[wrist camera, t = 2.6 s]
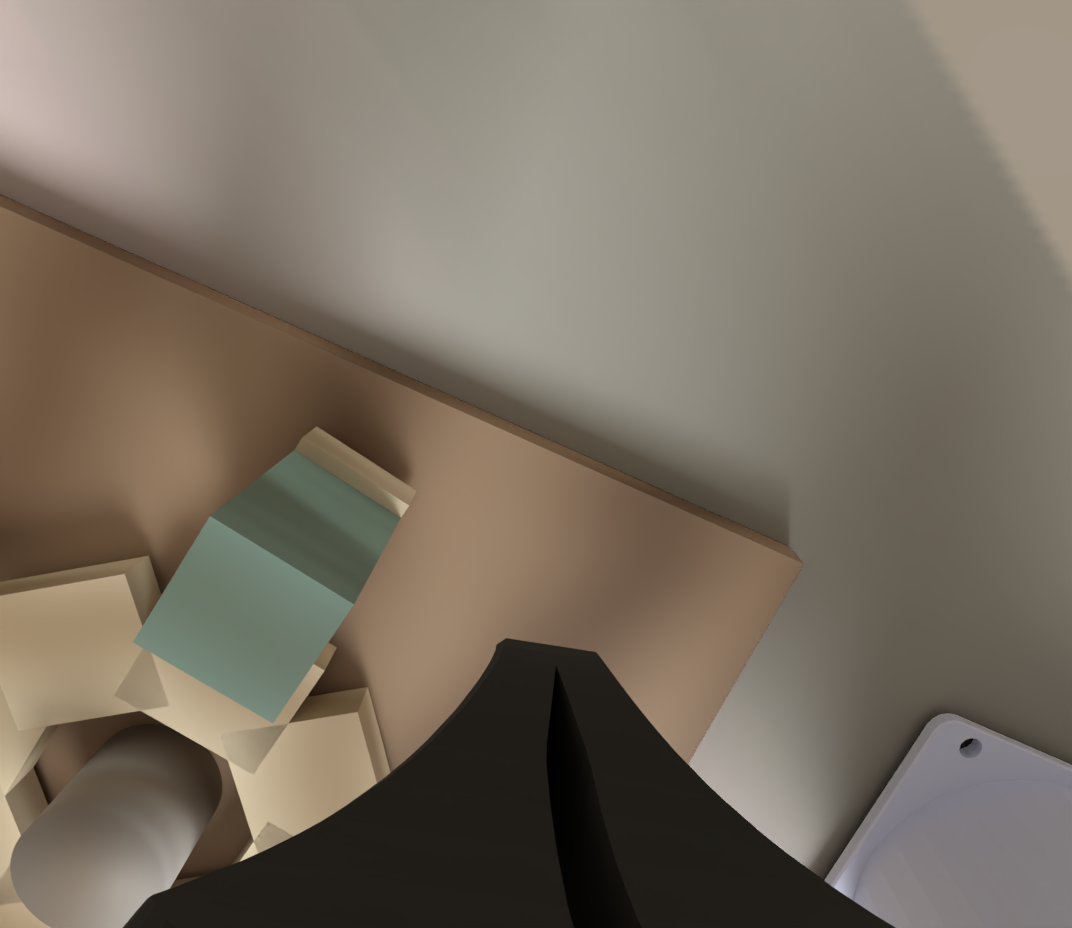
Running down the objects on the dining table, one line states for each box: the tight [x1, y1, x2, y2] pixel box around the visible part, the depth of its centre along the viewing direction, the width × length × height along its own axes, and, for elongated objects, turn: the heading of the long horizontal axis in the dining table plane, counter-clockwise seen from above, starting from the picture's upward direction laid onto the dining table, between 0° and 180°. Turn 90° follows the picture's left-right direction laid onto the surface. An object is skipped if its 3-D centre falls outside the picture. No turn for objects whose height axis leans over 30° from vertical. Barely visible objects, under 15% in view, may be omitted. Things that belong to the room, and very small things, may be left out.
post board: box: [0, 195, 804, 928], centre depth 18 cm, size 22×22×4 cm
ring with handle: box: [0, 427, 417, 928], centre depth 15 cm, size 15×11×5 cm
